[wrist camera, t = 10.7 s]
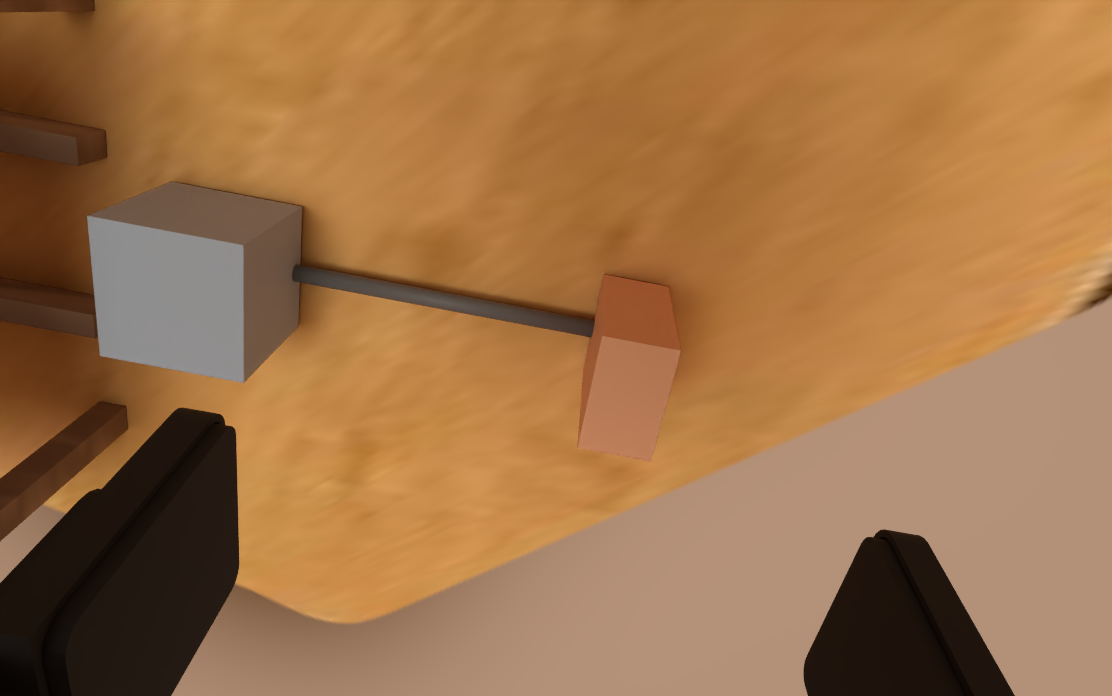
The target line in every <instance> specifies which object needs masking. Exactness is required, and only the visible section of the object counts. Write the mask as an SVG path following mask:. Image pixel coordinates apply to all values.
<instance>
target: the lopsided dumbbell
mask: <svg viewBox="0 0 1112 696" xmlns="http://www.w3.org/2000/svg"><path fill="white" fill-rule="evenodd" d="M87 222H88V233H89V243H90V254H91V265H92V276H93V286H94V297H95V308H96V318H97V329H98V340H99V351H100V356H103V357H108V358H113V359H119V360H124V361H129V362H135V363H140V364H145V365H151V366H156V367H162V368H167V369H172V370H178V371H183V372H188V373H194V374H199V375H204V376H210V377H215V378H220V379H226V380H231V381H236V382H242V383H244V382H245V381H246V380H247V379H248V378H249V377H250V376H251V375H252V374H253V373H254V372H255V371H256V370H257V369H258V368H259V366H260V365H261V364H262V363H263V362H264V361H265V360H266V359H267V358H268V357H269V356H270V355H271V354H272V353H273V352H274V351H275V350H276V349H277V348H278V347H279V346H280V345H281V344H282V343H283V342H284V341H285V340H286V339H287V338H288V337H289V336H290V334H291V333H292V332H293V331H294V330H295V329H296V328H297V327H298V325H299V293H300V282H301V283H306V284H311V285H316V286H322V287H327V288H332V289H338V290H343V291H348V292H354V293H359V294H364V295H369V296H375V297H380V298H385V299H391V300H396V301H401V302H407V303H412V304H417V305H422V306H428V307H433V308H438V309H444V310H449V311H454V312H460V313H465V314H470V315H476V316H481V317H486V318H491V319H497V320H502V321H507V322H513V323H518V324H523V325H529V326H534V327H539V328H544V329H550V330H555V331H560V332H566V333H571V334H576V335H582V336H587V337H590V342H589V347H588V351H587V356H586V361H585V365H584V370H583V382H582V396H581V409H580V422H579V435H578V448H581V449H586V450H592V451H597V452H602V453H608V454H613V455H619V456H624V457H629V458H635V459H640V460H645V461H651V459H652V456H653V452H654V448H655V445H656V441H657V437H658V434H659V430H660V426H661V423H662V419H663V415H664V412H665V408H666V405H667V401H668V397H669V394H670V390H671V386H672V383H673V379H674V375H675V372H676V368H677V364H678V361H679V357H680V353H681V347H680V342H679V337H678V332H677V327H676V322H675V317H674V312H673V307H672V302H671V297H670V292H669V287H667V286H662V285H657V284H651V283H646V282H641V281H636V280H630V279H625V278H620V277H615V276H609V275H604V277H603V282H602V286H601V291H600V296H599V300H598V305H597V310H596V314H595V319H594V320H590V319H584V318H579V317H574V316H569V315H563V314H558V313H553V312H547V311H542V310H537V309H532V308H526V307H521V306H516V305H510V304H505V303H500V302H494V301H489V300H484V299H479V298H473V297H468V296H463V295H457V294H452V293H447V292H442V291H436V290H431V289H426V288H420V287H415V286H410V285H405V284H399V283H394V282H389V281H383V280H378V279H373V278H367V277H362V276H357V275H352V274H346V273H341V272H336V271H330V270H325V269H320V268H315V267H309V266H304V265H300V262H301V230H302V206H297V205H292V204H286V203H281V202H276V201H270V200H265V199H260V198H255V197H249V196H244V195H239V194H234V193H228V192H223V191H218V190H213V189H207V188H202V187H197V186H191V185H186V184H181V183H176V182H169V183H166V184H164V185H161V186H159V187H157V188H154V189H152V190H149V191H147V192H144V193H142V194H139V195H137V196H134V197H132V198H129V199H127V200H125V201H122V202H120V203H117V204H115V205H112V206H110V207H107V208H105V209H102V210H100V211H97V212H95V213H92V214H90V215H88V216H87Z"/></svg>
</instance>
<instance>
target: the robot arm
mask: <svg viewBox="0 0 1112 696" xmlns="http://www.w3.org/2000/svg"><path fill="white" fill-rule="evenodd" d="M238 569H239V537H238V496H237V456H236V432H235V429H234V428H233V427H232V426H226V425H225V420H224V418H223V416H222V415H220V414H216V413H210V412H205V411H199V410H193V409H187V408H178V409H177V410H175V411H174V412H173V413H172V414H171V415H170V416H169V417H168V418H167V419H166V421H165V422H164V423H163V424H162V425H161V426H160V427H159V428H158V429H157V430H156V431H155V432H154V433H153V435H152V436H151V437H150V438H149V439H148V440H147V441H146V442H145V443H144V444H143V445H142V446H141V447H140V448H139V450H138V451H137V452H136V453H135V454H134V455H133V456H132V457H131V458H130V459H129V460H128V461H127V462H126V464H125V465H124V466H123V467H122V468H121V469H120V470H119V471H118V472H117V473H116V474H115V475H114V476H113V478H112V479H111V480H110V481H109V482H108V483H107V484H106V485H105V486H104V487H103V488H102V489H95V490H93V491H90V492H88V493H87V494H86V495H85V496H83V497H82V498H81V499H80V500H79V501H78V502H77V503H76V504H75V505H74V506H73V507H72V508H71V509H70V510H69V511H68V513H67V514H66V515H65V516H64V517H63V518H62V519H61V520H60V521H59V522H58V523H57V524H56V525H55V526H54V527H53V528H52V529H51V530H50V531H49V533H48V534H47V535H46V536H45V537H44V538H43V539H42V540H41V541H40V542H39V543H38V544H37V545H36V546H35V547H34V548H33V549H32V550H31V551H30V552H29V554H28V555H27V556H26V557H25V558H24V559H23V560H22V561H21V562H20V563H19V564H18V565H17V566H16V567H15V568H14V569H13V570H12V571H11V572H10V573H9V575H8V576H7V577H6V578H5V579H4V580H3V581H2V582H1V583H0V696H171V695H172V693H173V691H174V690H175V688H176V686H177V684H178V683H179V681H180V679H181V677H182V676H183V674H184V672H185V671H186V669H187V667H188V665H189V664H190V662H191V660H192V658H193V656H194V655H195V653H196V651H197V650H198V648H199V646H200V644H201V643H202V641H203V639H204V637H205V636H206V634H207V632H208V631H209V629H210V627H211V625H212V624H213V622H214V620H215V618H216V616H217V615H218V613H219V611H220V610H221V608H222V606H223V604H224V603H225V601H226V599H227V597H228V596H229V594H230V592H231V590H232V588H233V586H234V584H235V581H236V578H237V574H238ZM804 683H805V687H806V690H807V694H808V696H1015V695H1014V694H1013V692H1012V690H1011V688H1010V686H1009V685H1008V683H1007V681H1006V680H1005V678H1004V676H1003V674H1002V672H1001V671H1000V669H999V667H998V665H997V664H996V662H995V660H994V659H993V657H992V655H991V653H990V651H989V650H988V648H987V646H986V644H985V642H984V641H983V639H982V637H981V635H980V634H979V632H978V630H977V628H976V627H975V625H974V623H973V621H972V620H971V618H970V616H969V614H968V613H967V611H966V609H965V607H964V606H963V604H962V602H961V600H960V598H959V597H958V595H957V593H956V591H955V590H954V588H953V586H952V584H951V583H950V581H949V579H948V577H947V576H946V574H945V572H944V570H943V569H942V567H941V565H940V563H939V561H938V560H937V558H936V556H935V554H934V553H933V551H932V549H931V548H930V546H929V544H928V542H927V541H926V540H925V539H924V538H923V537H921V536H919V535H913V534H907V533H901V532H895V531H890V530H880V531H879V532H877V533H876V534H875V536H874V537H867V538H865V539H864V540H863V542H862V543H861V545H860V547H859V549H858V552H857V553H856V555H855V558H854V560H853V562H852V564H851V566H850V568H849V570H848V572H847V574H846V576H845V578H844V580H843V583H842V585H841V586H840V589H839V591H838V593H837V595H836V597H835V599H834V601H833V603H832V605H831V607H830V609H829V611H828V613H827V616H826V618H825V620H824V622H823V624H822V626H821V628H820V630H819V632H818V634H817V636H816V638H815V640H814V642H813V644H812V647H811V648H810V651H809V653H808V655H807V657H806V660H805V664H804Z"/></svg>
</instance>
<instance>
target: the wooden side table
mask: <svg viewBox="0 0 1112 696" xmlns="http://www.w3.org/2000/svg"><path fill="white" fill-rule="evenodd" d="M55 11H94V0H0V12H55ZM0 151H2V152H8V153H13V154H18V155H23V156H29V157H34V158H39V159H44V160H50V161H55V162H60V163H66V164H71V165H76V166H80V165H84V164H87V163H90V162H93V161H97V160H100V159H103V158H106V157H107V149H106V136H105V130H101V129H96V128H90V127H85V126H80V125H75V124H69V123H64V122H59V121H54V120H48V119H43V118H38V117H33V116H27V115H22V114H17V113H12V112H6V111H1V110H0ZM0 321H5V322H11V323H16V324H21V325H27V326H32V327H37V328H43V329H48V330H53V331H59V332H64V333H69V334H75V335H80V336H85V337H91V338H96V337H98V329H97V318H96V308H95V297H94V295H90V294H85V293H79V292H74V291H69V290H63V289H58V288H53V287H47V286H42V285H37V284H31V283H26V282H21V281H15V280H10V279H5V278H0ZM127 429H128V427H127V415H126V406H120V405H115V404H110V403H104V402H98V403H97V404H96V405H94V406H93V407H92V408H90V409H89V410H88V411H87V412H85V413H84V414H83V415H81V416H80V417H79V418H78V419H76V420H75V421H74V422H72V423H71V424H70V425H69V426H67V427H66V428H65V429H63V430H62V431H61V432H60V433H58V434H57V435H56V436H54V437H53V438H52V439H51V440H49V441H48V442H47V443H46V444H44V445H43V446H42V447H40V448H39V449H38V450H37V451H35V452H34V453H33V454H31V455H30V456H29V457H28V458H26V459H25V460H24V461H22V462H21V463H20V464H19V465H17V466H16V467H15V468H13V469H12V470H11V471H10V472H8V473H7V474H6V475H4V476H3V477H2V478H1V479H0V541H1V540H2V539H3V538H4V537H5V536H7V535H8V534H9V533H10V532H11V531H12V530H14V529H15V528H16V527H17V526H18V525H19V524H20V523H22V522H23V521H24V520H25V519H26V518H27V517H28V516H29V515H31V514H32V513H33V512H34V511H35V510H36V509H37V508H38V507H40V506H41V505H42V504H43V503H44V502H45V501H47V500H48V499H49V498H50V497H51V496H52V495H53V494H54V493H56V492H57V491H58V490H59V489H60V488H61V487H62V486H64V485H65V484H66V483H67V482H68V481H69V480H70V479H72V478H73V477H74V476H75V475H76V474H77V473H78V472H79V471H81V470H82V469H83V468H84V467H85V466H86V465H87V464H89V463H90V462H91V461H92V460H93V459H94V458H95V457H96V456H98V455H99V454H100V453H101V452H102V451H103V450H104V449H106V448H107V447H108V446H109V445H110V444H111V443H112V442H114V441H115V440H116V439H117V438H118V437H119V436H120V435H121V434H123V433H124V432H125V431H126V430H127Z"/></svg>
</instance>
